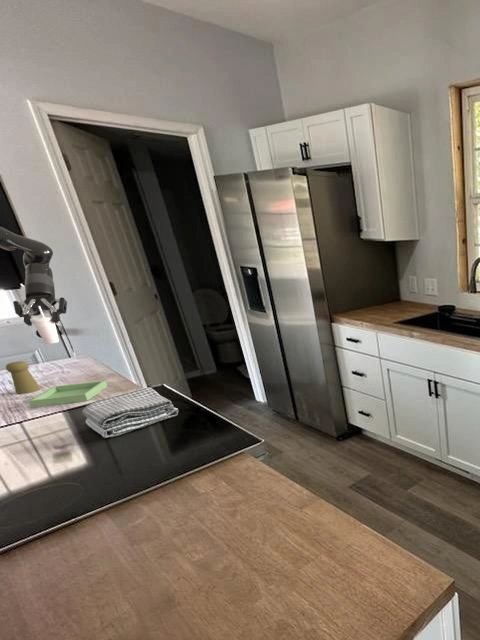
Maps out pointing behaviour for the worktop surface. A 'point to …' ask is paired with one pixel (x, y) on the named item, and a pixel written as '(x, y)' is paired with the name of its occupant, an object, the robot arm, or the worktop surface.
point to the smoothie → (45, 328)
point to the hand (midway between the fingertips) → (42, 323)
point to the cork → (22, 378)
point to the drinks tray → (68, 394)
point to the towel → (128, 412)
